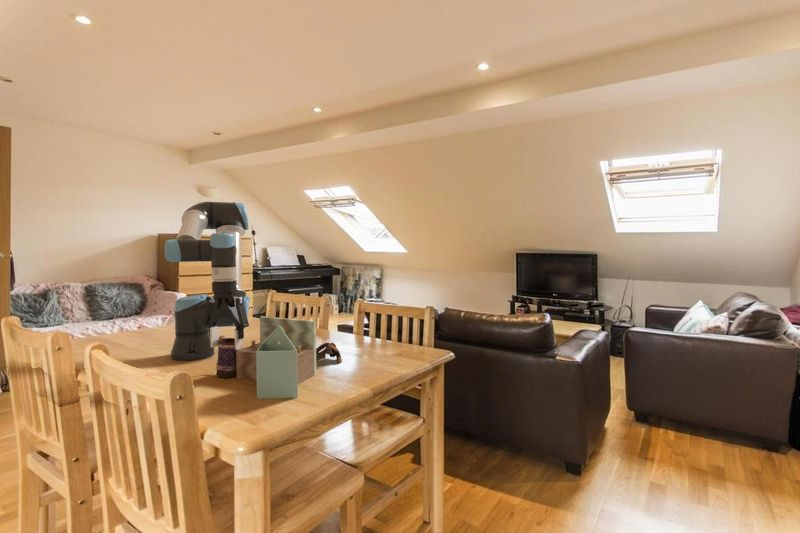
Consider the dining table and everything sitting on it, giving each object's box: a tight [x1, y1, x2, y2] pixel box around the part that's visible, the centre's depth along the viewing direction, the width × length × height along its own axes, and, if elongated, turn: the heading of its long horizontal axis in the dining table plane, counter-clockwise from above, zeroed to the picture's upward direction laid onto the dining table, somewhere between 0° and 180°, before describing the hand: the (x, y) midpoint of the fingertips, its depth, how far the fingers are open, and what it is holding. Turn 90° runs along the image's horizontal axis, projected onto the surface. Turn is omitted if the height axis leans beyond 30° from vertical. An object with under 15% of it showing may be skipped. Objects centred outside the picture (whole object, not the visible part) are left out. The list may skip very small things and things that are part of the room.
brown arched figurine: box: [316, 341, 343, 364], centre depth 154 cm, size 12×10×8 cm
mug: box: [216, 335, 239, 379], centre depth 138 cm, size 10×7×12 cm
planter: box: [256, 325, 299, 400], centre depth 120 cm, size 16×8×20 cm, turn 52°
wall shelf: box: [236, 315, 317, 385], centre depth 137 cm, size 22×13×18 cm, turn 68°
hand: (226, 347), depth 138 cm, fingers open, 10 cm apart
